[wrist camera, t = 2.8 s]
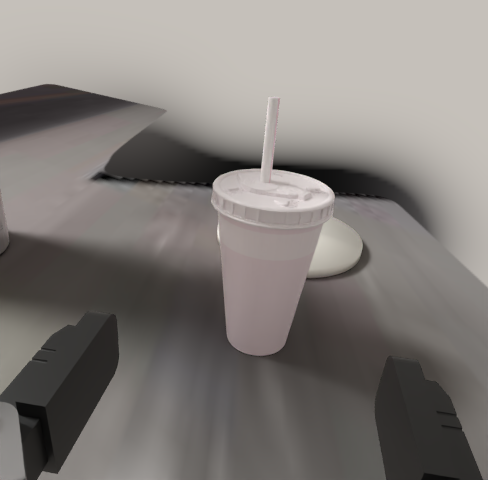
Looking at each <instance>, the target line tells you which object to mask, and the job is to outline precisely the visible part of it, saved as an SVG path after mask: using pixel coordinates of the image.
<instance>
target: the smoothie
mask: <svg viewBox="0 0 488 480" xmlns="http://www.w3.org/2000/svg"><path fill="white" fill-rule="evenodd" d="M279 102H280V98H279V97H273V96H270V97H269V98H268V107H267V117H266V127H265V137H264V146H263V157H262V168H261V169H244V170H237V171H232V172H228V173H225V174H223V175H221V176H219V177H218V178H216V180H215V181H214V182H213V195H212V199H211V203H212V204H213V206H214V208H215V209H216V210H217V211H218V223H219V237H220V250H221V263H222V277H223V291H224V304H225V318H226V332H227V338H228V341H229V342H230V344H231V345H232V346H233V347H234V348H236V349H237V350H239V351H241V352H243V353H246V354H249V355H255V356H265V355H271V354H274V353H276V352H278V351H279V350H281V349H282V348H283V347H284V345H285V343H286V340H287V337H288V333H289V330H290V327H291V324H292V321H293V318H294V315H295V311H296V308H297V305H298V302H299V299H300V296H301V293H302V290H303V286H304V283H305V280H306V277H307V274H308V271H309V268H310V264H311V261H312V258H313V255H314V252H315V249H316V246H317V243H318V240H319V237H320V233H321V230H322V226H323V223H325V222H327V221H328V220H329V219H330V218H331V217H332V216H333V204H334V199H335V195H334V193H333V191H332V190H331V189H330V188H329V187H328V186H327V185H325V184H324V183H322V182H320V181H318V180H316V179H313V178H311V177H308V176H304V175H301V174H297V173H293V172H287V171H281V170H272V165H273V155H274V147H275V138H276V129H277V121H278V111H279Z"/></svg>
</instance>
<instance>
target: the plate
mask: <svg viewBox="0 0 488 480" xmlns="http://www.w3.org/2000/svg"><path fill="white" fill-rule="evenodd" d="M217 240H218V243H219V245H220V237H219V224H218V231H217ZM362 248H363V243H362V240H361V238H360V236H359V235H358V234H357V232H356V231H355V230H353V229H352V228H351V227H350V226H348V225H347V224H345V223H344V222H342V221H340V220H338V219H336V218H334V217H331V218H330V219H329V220H328V221H327V222H325V223H323V226H322V230H321V233H320V237H319V240H318V243H317V246H316V249H315V252H314V255H313V258H312V261H311V264H310V268H309V271H308V274H307V277H306V278H320V277H327V276H333V275H337V274H340V273H343V272H345V271H348V270H349V269H351V268H352V267H354V266H355V265H356V264H357V263H358V261H359V260H360V256H361V252H362Z"/></svg>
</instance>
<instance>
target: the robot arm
mask: <svg viewBox="0 0 488 480" xmlns="http://www.w3.org/2000/svg"><path fill="white" fill-rule="evenodd" d="M8 244H9V234H8V229H7V223H6V218H5V213H4V208H3V202H2V197H1V190H0V254H1V253H2V252H3V251H4V250H6V248H7V246H8ZM118 360H119V347H118V332H117V319H116V316H115V315H114V314H110V313H103V312H96V311H88V312H87V313H86V314H85V315H84V316H83V318H82V319H81V320H80V321H79V323H78V324H77V325H76V326H72V325H67V326H66V327H64V328H62V329H61V330H59V331H58V332H56V333H54V334H53V335H52V336H51V337H50V338H49V339H48V340H47V341H46V343H45V344H44V345H43V346H42V347H41V350H39V351H38V352H37V353H36V354H35V355H34V357H33V358H32V361H29V362H28V364H27V365H26V366H25V367H24V368H23V369H22V371H21V372H20V373H19V374H18V375H17V376H16V378H15V379H14V380H13V381H12V382H11V383H10V385H9V386H8V387H7V388H6V389H5V390H4V392H3V393H2V394H1V395H0V480H37V479H38V477H39V475H40V474H41V472H42V471H45V472H50V473H56V474H58V472H59V470H60V469H61V467H62V465H63V463H64V462H65V460H66V458H67V456H68V455H69V453H70V451H71V449H72V448H73V446H74V444H75V442H76V441H77V439H78V437H79V435H80V434H81V432H82V430H83V428H84V427H85V425H86V423H87V421H88V420H89V418H90V416H91V414H92V413H93V411H94V409H95V407H96V406H97V404H98V402H99V400H100V399H101V397H102V395H103V393H104V392H105V390H106V388H107V386H108V385H109V383H110V381H111V379H112V378H113V376H114V374H115V371H116V369H117V365H118ZM456 415H457V414H456V412H455V409H454V407H453V404H452V402H451V399H450V397H449V396H448V395H447V394H446V392H445V391H444V390H443V389H442V388H441V387H440V386H439V384H438V383H437V382H435V381H428V380H425V378H424V375H423V372H422V369H421V366H420V364H419V362H418V361H417V360H415V359H408V358H401V357H394V356H389V357H388V358H387V361H386V364H385V367H384V371H383V374H382V377H381V381H380V384H379V387H378V391H377V394H376V399H375V419H376V425H377V430H378V436H379V441H380V447H381V452H382V457H383V463H384V468H385V474H386V479H387V480H483V479H482V476H481V474H480V471H479V469H478V466H477V464H476V461H475V459H474V456H473V454H472V451H471V449H470V446H469V444H468V441H467V439H466V436H465V434H464V432H462V426H461V424H460V421H459V419H458V418H457V417H456Z"/></svg>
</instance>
